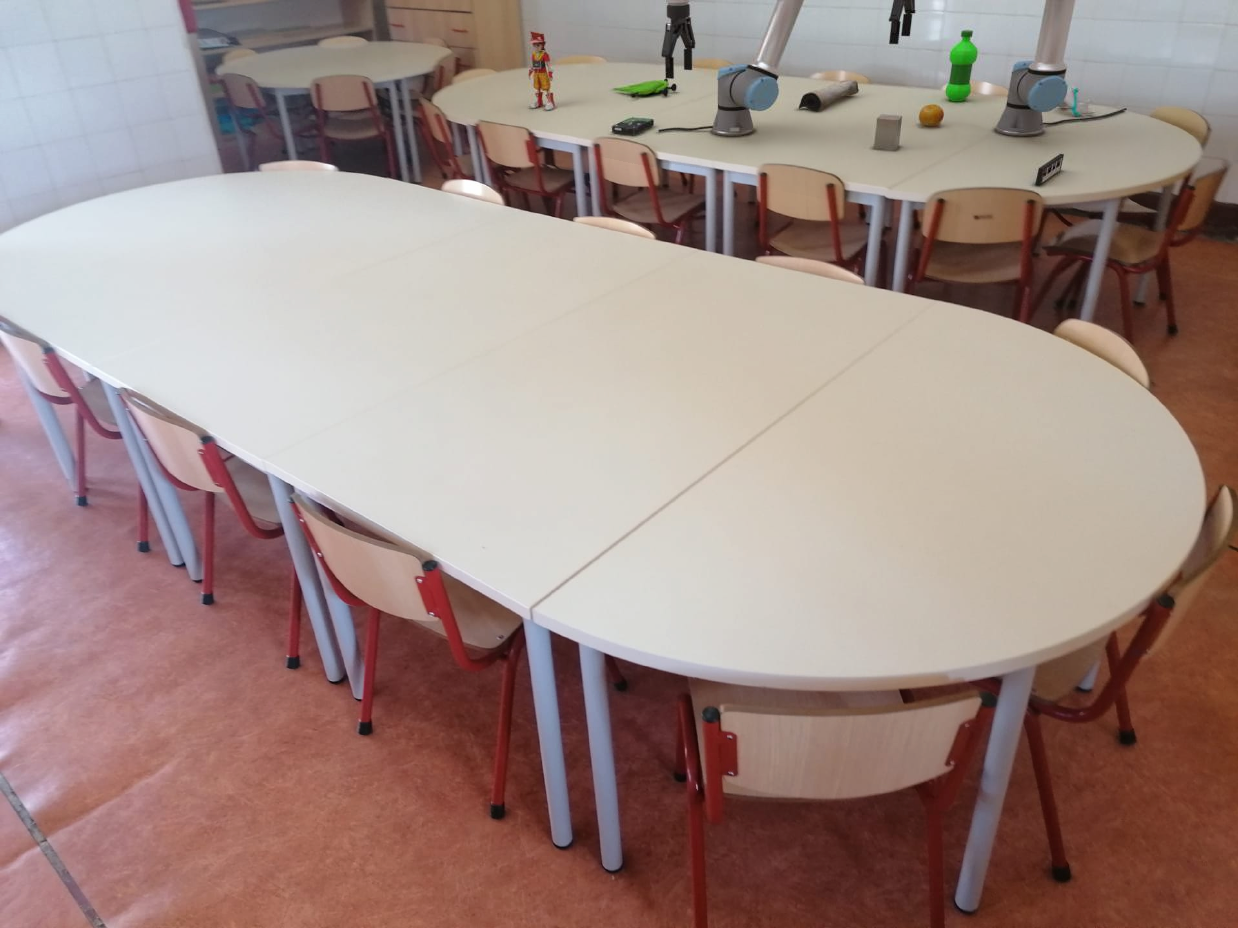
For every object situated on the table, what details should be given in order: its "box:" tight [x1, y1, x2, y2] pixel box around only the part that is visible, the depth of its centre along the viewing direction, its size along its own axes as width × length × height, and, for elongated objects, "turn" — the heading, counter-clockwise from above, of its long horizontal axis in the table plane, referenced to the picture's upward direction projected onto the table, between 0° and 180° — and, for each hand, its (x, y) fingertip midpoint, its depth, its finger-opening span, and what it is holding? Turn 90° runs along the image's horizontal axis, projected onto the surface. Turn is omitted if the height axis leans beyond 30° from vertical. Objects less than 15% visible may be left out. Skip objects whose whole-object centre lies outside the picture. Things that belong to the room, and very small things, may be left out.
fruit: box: [918, 104, 945, 127], centre depth 327 cm, size 8×8×8 cm
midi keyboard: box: [1035, 153, 1065, 186], centre depth 273 cm, size 18×1×5 cm, turn 138°
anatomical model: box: [1058, 84, 1096, 117], centre depth 331 cm, size 15×10×10 cm
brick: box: [873, 113, 903, 151], centre depth 307 cm, size 7×5×10 cm
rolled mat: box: [798, 79, 860, 112], centre depth 363 cm, size 30×9×10 cm
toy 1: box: [527, 31, 556, 111], centre depth 374 cm, size 12×9×30 cm
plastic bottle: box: [945, 29, 979, 102], centre depth 350 cm, size 10×10×25 cm
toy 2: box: [612, 78, 677, 99], centre depth 396 cm, size 28×5×30 cm
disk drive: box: [611, 116, 655, 136], centre depth 345 cm, size 10×3×15 cm
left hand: (679, 74), depth 301 cm, fingers open, 13 cm apart
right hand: (899, 40), depth 290 cm, fingers open, 13 cm apart
